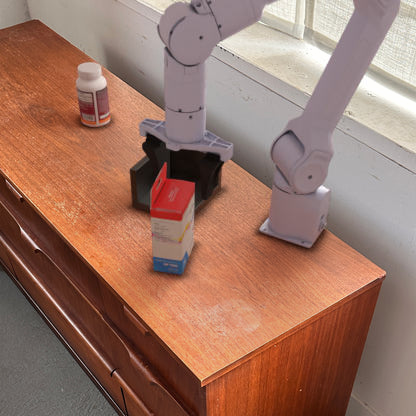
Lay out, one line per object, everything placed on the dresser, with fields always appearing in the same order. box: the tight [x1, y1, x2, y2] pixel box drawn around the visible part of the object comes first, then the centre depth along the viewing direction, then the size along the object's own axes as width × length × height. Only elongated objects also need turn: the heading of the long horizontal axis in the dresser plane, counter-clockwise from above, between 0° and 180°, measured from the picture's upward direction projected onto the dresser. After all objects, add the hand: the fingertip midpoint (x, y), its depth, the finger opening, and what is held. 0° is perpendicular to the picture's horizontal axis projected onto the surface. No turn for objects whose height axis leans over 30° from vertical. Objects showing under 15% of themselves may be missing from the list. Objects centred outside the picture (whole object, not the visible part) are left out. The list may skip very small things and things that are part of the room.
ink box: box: [149, 162, 195, 276], centre depth 96 cm, size 8×5×15 cm, turn 168°
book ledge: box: [129, 149, 223, 218], centre depth 110 cm, size 11×13×8 cm
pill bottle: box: [75, 61, 111, 128], centre depth 127 cm, size 6×6×11 cm
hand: (185, 189), depth 96 cm, fingers open, 7 cm apart
